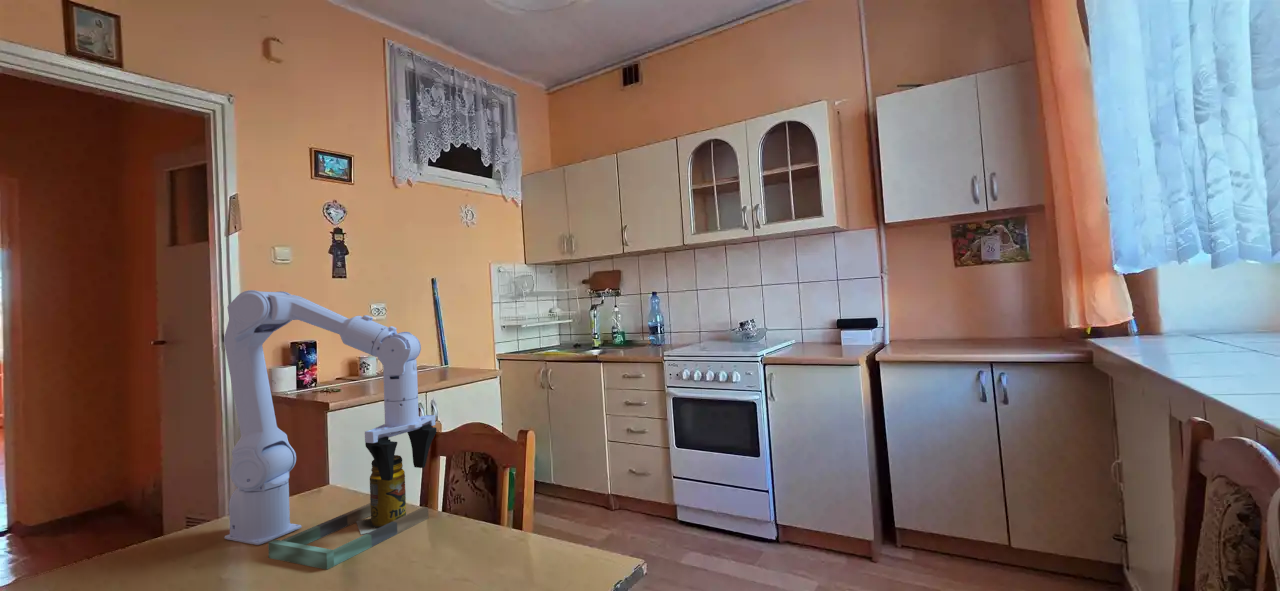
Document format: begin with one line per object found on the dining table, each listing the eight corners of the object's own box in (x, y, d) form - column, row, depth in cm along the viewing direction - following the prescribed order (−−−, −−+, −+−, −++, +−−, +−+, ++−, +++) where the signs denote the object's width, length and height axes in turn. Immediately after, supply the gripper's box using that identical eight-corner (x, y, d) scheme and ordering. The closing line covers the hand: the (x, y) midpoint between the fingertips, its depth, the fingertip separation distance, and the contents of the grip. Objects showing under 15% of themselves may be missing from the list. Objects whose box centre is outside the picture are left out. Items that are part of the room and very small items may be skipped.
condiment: (411, 523, 102) (409, 458, 103) (361, 535, 98) (358, 467, 98) (404, 512, 109) (402, 450, 109) (356, 523, 104) (354, 459, 104)
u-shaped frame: (268, 557, 90) (268, 542, 90) (376, 510, 110) (375, 498, 110) (327, 569, 85) (326, 553, 85) (428, 518, 105) (428, 504, 105)
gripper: (385, 406, 93) (387, 487, 93) (446, 392, 106) (449, 463, 106) (355, 405, 96) (357, 484, 95) (418, 392, 109) (421, 461, 109)
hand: (403, 473), depth 101 cm, fingers open, 7 cm apart
